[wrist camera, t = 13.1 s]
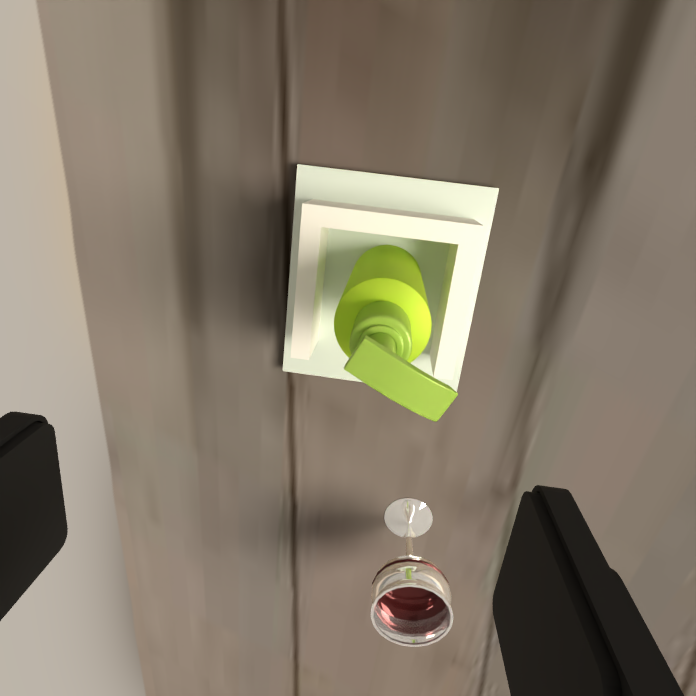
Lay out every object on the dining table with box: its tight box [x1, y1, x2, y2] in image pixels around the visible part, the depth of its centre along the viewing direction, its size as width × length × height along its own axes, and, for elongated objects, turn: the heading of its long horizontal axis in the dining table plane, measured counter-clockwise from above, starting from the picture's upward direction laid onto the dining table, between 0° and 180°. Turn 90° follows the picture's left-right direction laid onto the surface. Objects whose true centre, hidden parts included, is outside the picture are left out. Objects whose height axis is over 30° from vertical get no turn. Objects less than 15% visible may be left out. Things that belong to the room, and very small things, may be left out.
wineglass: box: [371, 498, 453, 647], centre depth 46 cm, size 7×7×12 cm
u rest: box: [283, 164, 499, 392], centre depth 40 cm, size 18×16×6 cm
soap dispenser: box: [334, 245, 458, 422], centre depth 33 cm, size 6×7×20 cm
